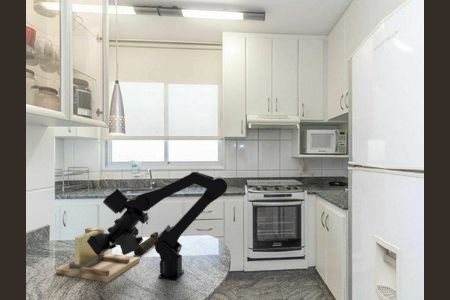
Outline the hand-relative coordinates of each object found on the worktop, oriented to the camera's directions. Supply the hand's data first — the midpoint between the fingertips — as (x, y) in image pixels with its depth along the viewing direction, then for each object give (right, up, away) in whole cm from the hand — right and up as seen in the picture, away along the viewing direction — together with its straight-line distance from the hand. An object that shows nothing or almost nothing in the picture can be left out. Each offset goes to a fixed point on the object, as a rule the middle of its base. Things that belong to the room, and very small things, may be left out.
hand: (102, 252), depth 85 cm
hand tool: (+9, -8, +22) cm, 25 cm away
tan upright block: (-6, -5, +4) cm, 8 cm away
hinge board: (-2, -6, +2) cm, 7 cm away
